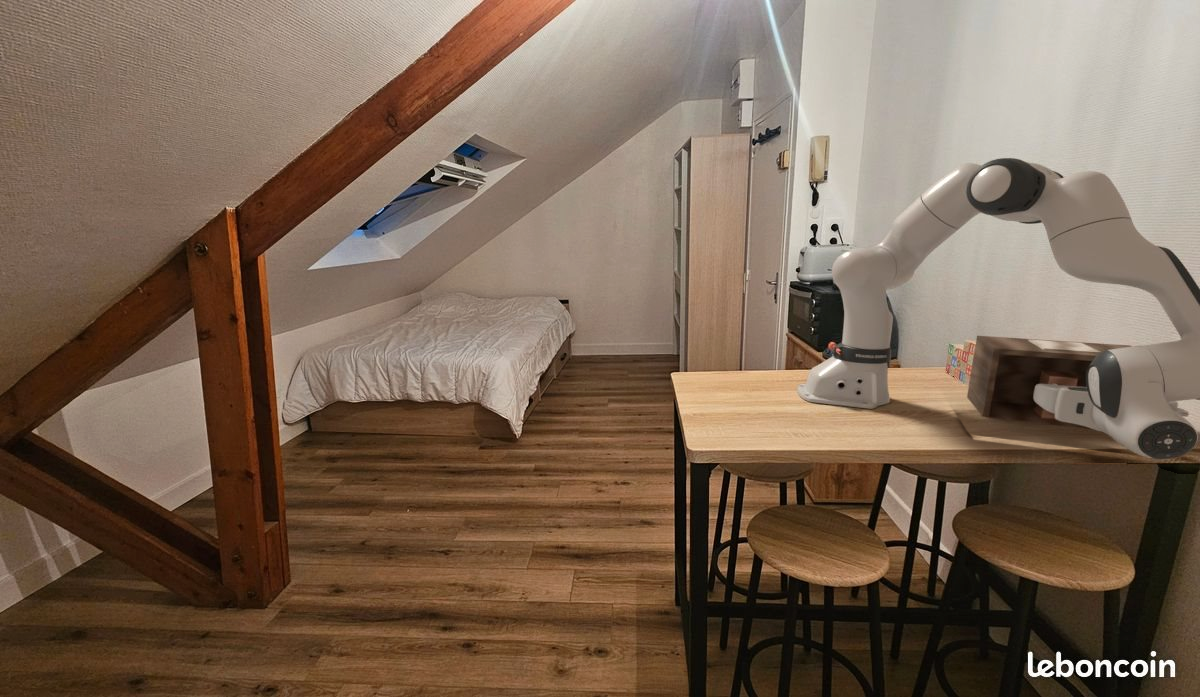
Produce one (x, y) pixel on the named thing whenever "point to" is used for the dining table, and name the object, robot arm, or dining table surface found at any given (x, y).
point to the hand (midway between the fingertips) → (1084, 389)
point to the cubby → (1024, 373)
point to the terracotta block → (1055, 378)
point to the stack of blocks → (961, 360)
